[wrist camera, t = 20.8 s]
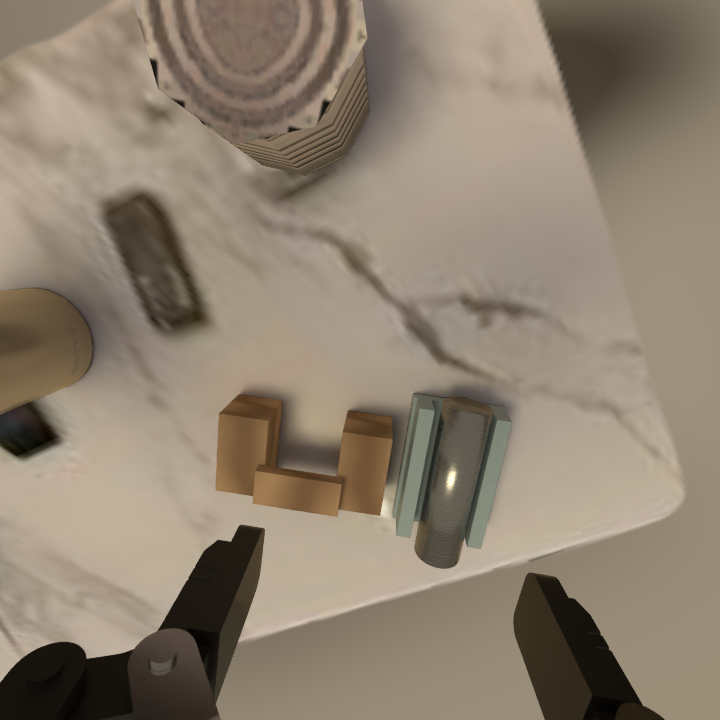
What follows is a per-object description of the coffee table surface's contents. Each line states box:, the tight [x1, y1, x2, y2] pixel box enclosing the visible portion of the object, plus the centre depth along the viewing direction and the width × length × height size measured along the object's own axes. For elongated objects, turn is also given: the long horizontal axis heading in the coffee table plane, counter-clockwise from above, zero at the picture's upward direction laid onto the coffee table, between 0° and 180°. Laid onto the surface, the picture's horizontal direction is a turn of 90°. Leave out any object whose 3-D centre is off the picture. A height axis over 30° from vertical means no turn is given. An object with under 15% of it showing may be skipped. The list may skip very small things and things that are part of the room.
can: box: [133, 0, 369, 176], centre depth 25 cm, size 11×11×12 cm
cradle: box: [393, 394, 512, 549], centre depth 36 cm, size 8×12×4 cm, turn 172°
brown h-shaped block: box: [216, 394, 393, 517], centre depth 36 cm, size 14×7×6 cm, turn 83°
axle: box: [414, 397, 493, 569], centre depth 35 cm, size 14×4×4 cm, turn 173°
